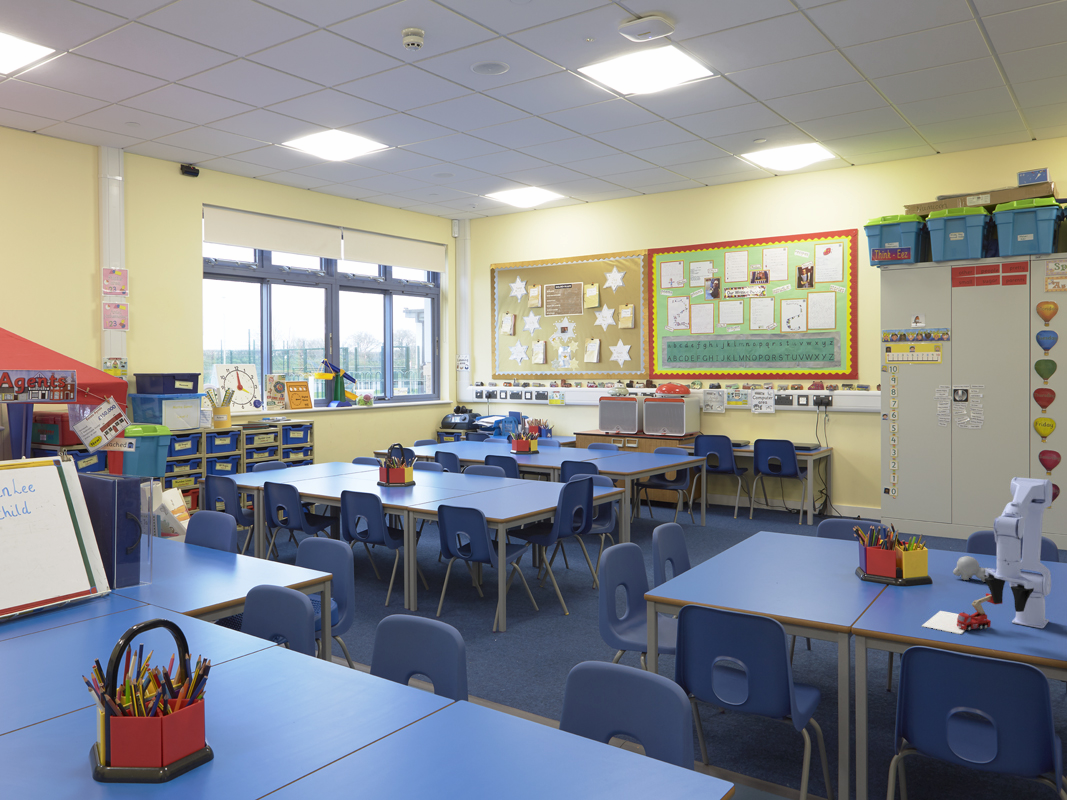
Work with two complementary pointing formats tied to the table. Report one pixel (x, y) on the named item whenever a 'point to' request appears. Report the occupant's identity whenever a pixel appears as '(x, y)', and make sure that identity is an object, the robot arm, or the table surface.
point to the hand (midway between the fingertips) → (1008, 607)
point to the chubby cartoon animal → (969, 568)
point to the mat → (944, 622)
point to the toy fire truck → (976, 615)
